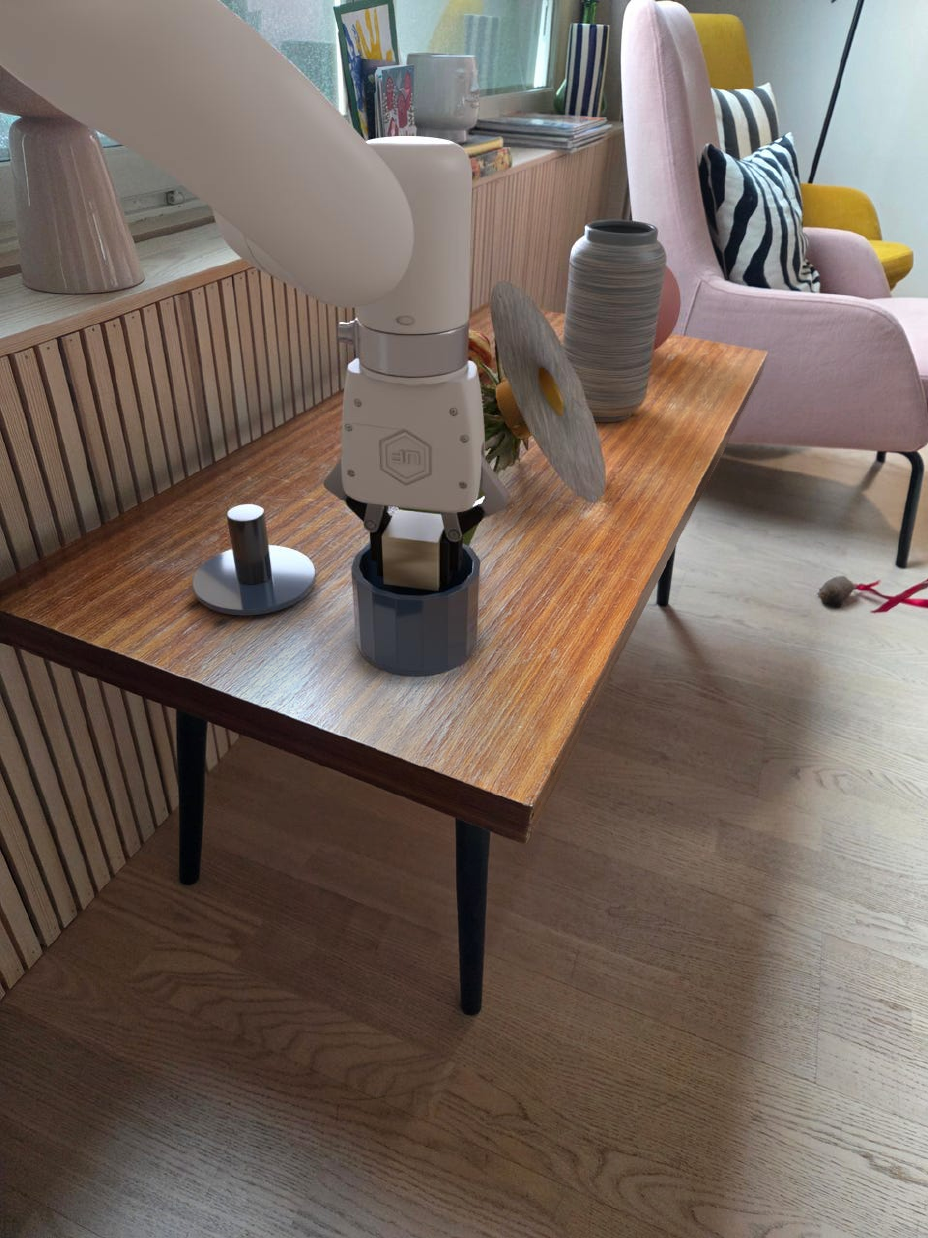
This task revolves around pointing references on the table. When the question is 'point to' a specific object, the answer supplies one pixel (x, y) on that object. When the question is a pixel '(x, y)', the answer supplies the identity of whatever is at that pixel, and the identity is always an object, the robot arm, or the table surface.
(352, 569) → the pot
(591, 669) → the table surface
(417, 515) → the block
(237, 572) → the lid
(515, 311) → the grey leafy disc
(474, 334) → the croissant
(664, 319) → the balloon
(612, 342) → the vase
